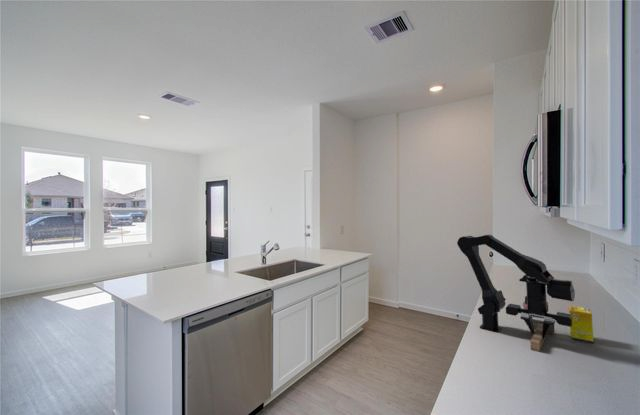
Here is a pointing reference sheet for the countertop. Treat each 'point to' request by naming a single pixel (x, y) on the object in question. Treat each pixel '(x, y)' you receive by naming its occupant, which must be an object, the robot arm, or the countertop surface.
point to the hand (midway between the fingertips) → (538, 337)
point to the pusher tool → (539, 335)
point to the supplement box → (581, 324)
